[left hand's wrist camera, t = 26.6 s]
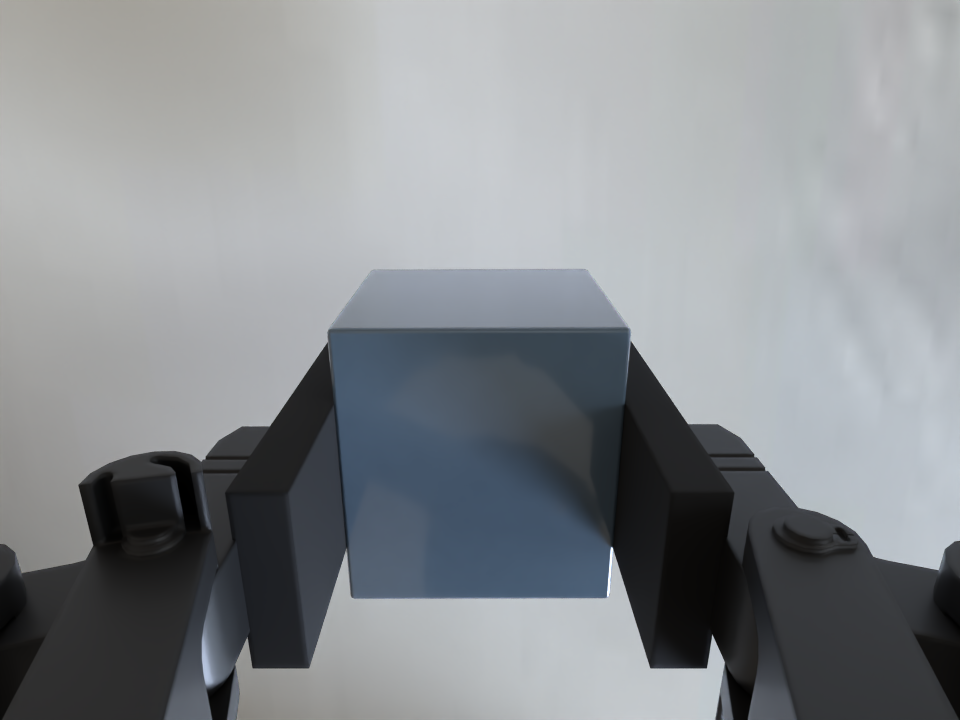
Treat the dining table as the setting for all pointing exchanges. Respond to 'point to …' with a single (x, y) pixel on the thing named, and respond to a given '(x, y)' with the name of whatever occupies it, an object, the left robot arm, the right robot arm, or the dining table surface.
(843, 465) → the dining table surface
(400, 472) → the block
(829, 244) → the dining table surface
